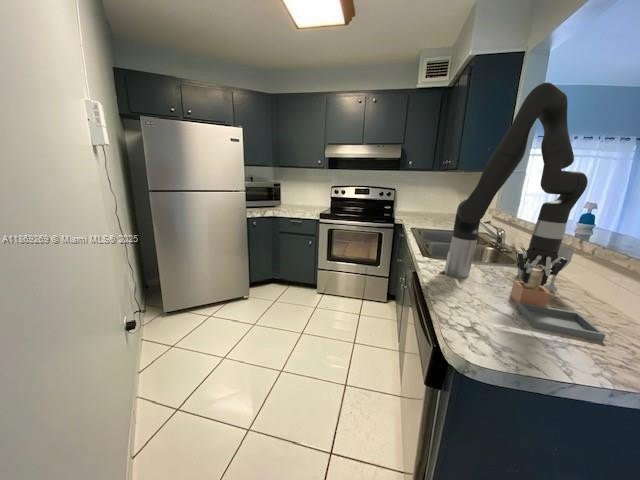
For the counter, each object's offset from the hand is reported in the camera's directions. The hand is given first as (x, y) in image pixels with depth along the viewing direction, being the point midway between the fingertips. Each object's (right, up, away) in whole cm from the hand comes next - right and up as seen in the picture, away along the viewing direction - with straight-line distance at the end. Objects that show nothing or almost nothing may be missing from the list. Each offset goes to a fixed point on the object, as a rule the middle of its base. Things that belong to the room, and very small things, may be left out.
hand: (532, 283), depth 87 cm
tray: (-1, -11, -10) cm, 15 cm away
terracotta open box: (0, -8, +2) cm, 8 cm away
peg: (0, -7, +2) cm, 7 cm away
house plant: (+21, -1, +30) cm, 37 cm away
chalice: (+20, -6, +15) cm, 26 cm away
